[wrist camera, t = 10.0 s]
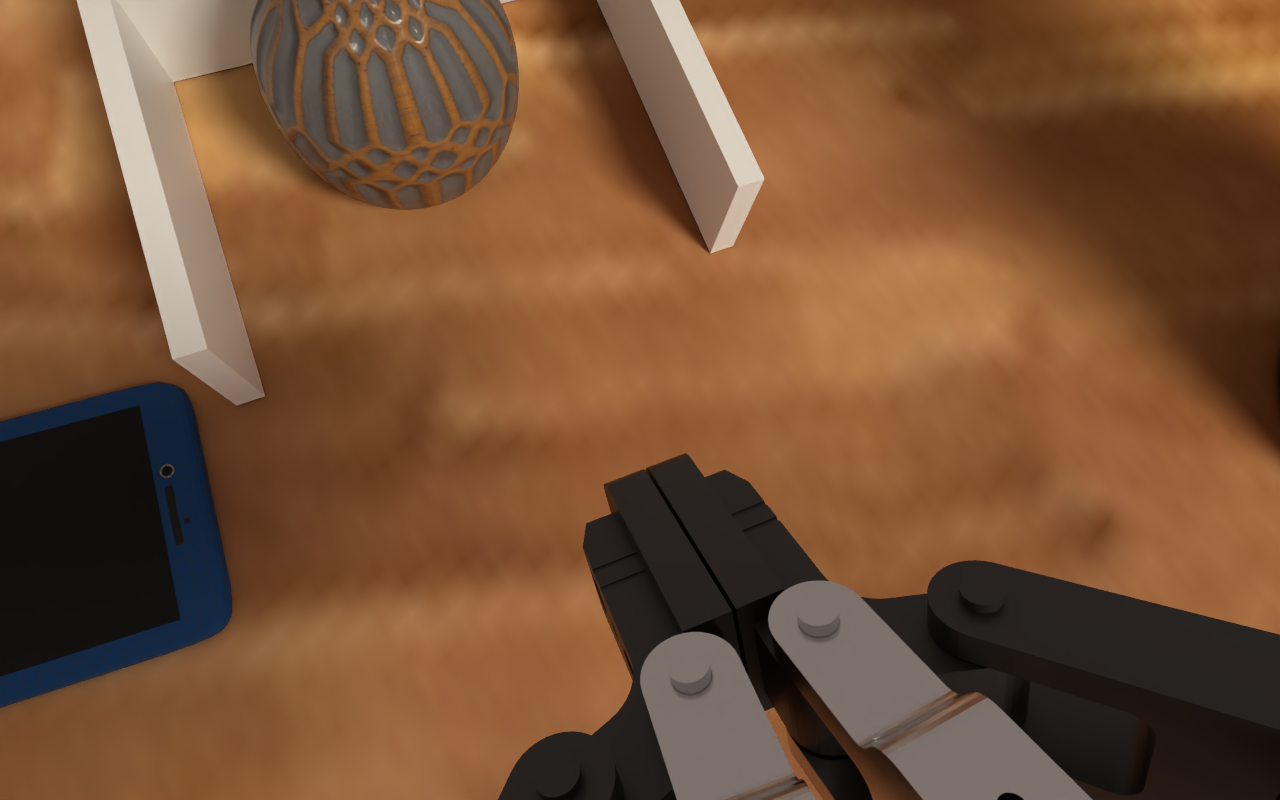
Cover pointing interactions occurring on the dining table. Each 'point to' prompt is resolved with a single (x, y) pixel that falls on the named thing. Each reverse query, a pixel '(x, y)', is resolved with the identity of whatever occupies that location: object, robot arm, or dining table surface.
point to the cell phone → (105, 539)
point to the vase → (389, 92)
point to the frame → (220, 39)
